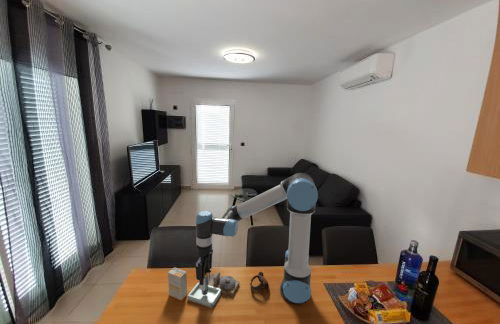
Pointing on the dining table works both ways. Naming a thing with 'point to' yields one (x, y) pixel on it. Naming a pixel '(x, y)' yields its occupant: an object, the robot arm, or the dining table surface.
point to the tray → (202, 299)
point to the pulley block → (223, 283)
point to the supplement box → (177, 283)
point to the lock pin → (206, 283)
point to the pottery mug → (261, 279)
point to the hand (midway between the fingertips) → (204, 286)
